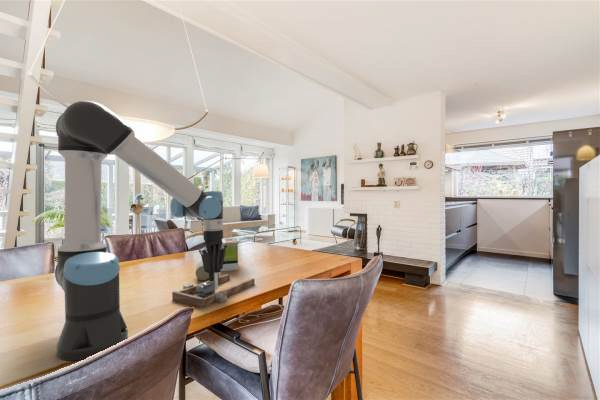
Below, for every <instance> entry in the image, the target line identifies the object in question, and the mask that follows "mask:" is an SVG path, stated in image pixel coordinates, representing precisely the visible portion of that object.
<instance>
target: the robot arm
mask: <svg viewBox="0 0 600 400" xmlns="http://www.w3.org/2000/svg"><path fill="white" fill-rule="evenodd" d="M55 132H56V135H57V137H58V140H57V142H58V143H57V146H58V148H57V150H58V151H57V153H58V154H59V155H60V156H61V157H63V158H64V242H63V243H62V244H61V245H60V246H59V247H57V262H56V266H55V269H54V277H55V281H56V283H57V284H58V286H60V287H61V289H62V290H63V292H64V313H65V318H64V319H65V322H64V324H63V326H62V330H61V333H60V336H59V338H58V341H57V345H56V355H57V357H58V358H59V359H61V360H63V361H83V360H86V359H85V358H87V357H89V356H92V355H94V354H96V353H98V352H100V351H103V350H105V349H107V348H109V347H111V346H113V345H116V344H117V343H119V342H121V341H123V340H125V339H127V340H128V338H129V332H128V331H129V330H128V326H127V324H126V321H125V319H124V317H123V315H122V312H121V309H120V307H121V306H120V302H121V301H120V298H121V297H120V296H121V295H120V294H121V293H120V269H121V267H120V262H119V258H118V256H117V255H116V254H114V253H111V252H108V251H107V250H108V249H107V247H108V245H107V244H106V243H105V242H103V241H102V239H101V238H102V228H101V227H102V219H101V218H102V161H103V160H105V159H106V158H107V157H108V155H109V156H110V155H112V156H113V155H114V156H116V157H118V158H119V159H120V160H122V161H123V162H124V163H126V164H127V165H129V166H130V167H131V168H133V169H134V170H135V171H136V172H138V173H139V174H140V175H142V176H143V177H144V178H146V179H148V180H149V181H150V182H151V183H153V184H154V185H155V186H157V187H158V188H159V189H161V190H162V191H164V192H165V193H166V194H168V195H169V196H170V197H171V198H172V199H171V201H170V205H169V206H170V211H171V212H170V213H171V214H172V216H173V217H175V218H184V217H190V218H198V219H203V221H202V224H203V225H202V227H203V228H202V229H203V233H202V234H203V237H202V238H203V240H204V244H203V248H199V250H198V253H199V255H200V257H201V261H202V262H203V266H204V271H205V272H207V273H209V279H208V281H210V283H214V284H215V291H216V290H218V289H219V284H218V279H219V277H220V275H219V274H220V272H222V271H221V270H220V269H222V268H223V263H224V256H225V250H226V248H227V245H224V244H223V242H222V239H223V238H224V230H223V228H224V217H223V216H224V198H223V197H224V196H223V192H222V191H221V190H204V191H203V190H202V189H200V187H198V186H197V185H196V184H194V183H193V182H192V181H191V180H190V179H189V178H187V177H186V176H185V175H184V174H183V173H181V172H180V171H179V170H178V169H177V168H175V167H174V166H173V165H172V164H170V163H169V162H168V161H166V159H165V158H163V157H162V156H161V155H159V154H158V153H157V152H156V151H154V150H153V149H152V148H151V147H149V145H147V144H146V143H145V142H144V141H142V140H141V139H140V138H139V137H138V136H136V134H135V129H134V128H133V127H132V126H130V125H129V124H128V123H127V122H126V121H124V120H123V119H122V118H120V117H119V116H118V115H117V114H116V113H114V112H113V111H112V110H110V109H109V108H107V107H106V106H104V105H103V104H101V103H98V102H96V101H89V100H80V101H75V102H73V103H71V104H70V105H69V106H67V107H66V108H65V110H64V111H63V113H61V115H59V117H58V118H57V120H56V123H55Z"/></svg>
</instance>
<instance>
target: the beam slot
mask: <svg viewBox="0 0 600 400" xmlns="http://www.w3.org/2000/svg"><path fill="white" fill-rule="evenodd" d="M230 279H231V274H230V273H226V274H224V275H220V276H219V279H218V285H219V284H223V283H224V282H228V281H230ZM202 283H210V281H209V280H205V281H204V282H203V281H202V282H201V283H199V284H202ZM199 284H195V285H194V284H192V283H187V284H185V285H182V289H180V290H178V291H177V290H175V291H172V293H171V294H172V295H171V296H172V301H176V302H179V303H183V304H186V305H189V306H193V305H194V306H193V307H196V306H197V307H196V308H200V307H201V308H202V307H203V308H205V307H207V306H209V305H211V303H212V304H214V303H216V302H217V303H223V302H225V301H227V299H228V298H227V297H230V296H231V295H234V294H236V293H239V292H240V291H243V290H246V289H247V288H250V287H252V286H255V278H250V279H247V280H245V281H242V282H240V283H238V284H237V283H236V284H235V285H232V286H230V287H227V288H226V289H223V290H220V291H218V292H215V294H213V295H210V296H208V297H206V298H201V297H197V296H196V295H194V294H196V286H197V285H199ZM203 308H202V309H203Z"/></svg>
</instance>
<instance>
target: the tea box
mask: <svg viewBox="0 0 600 400" xmlns="http://www.w3.org/2000/svg"><path fill="white" fill-rule="evenodd" d="M222 242H223V244H224V245H227V248H226V250H225V256H224V263H223V268H222V269H220V270H221V272H230V271H238V270H239V254H238V253H239V251H238V250H239V249H238V246H239V245H238V244H239V243H238V241H237V239H236V238H235V237H225V238H224V237H223V239H222Z"/></svg>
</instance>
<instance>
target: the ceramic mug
mask: <svg viewBox="0 0 600 400" xmlns="http://www.w3.org/2000/svg"><path fill="white" fill-rule="evenodd" d="M195 276H196V279H198V280H199V281H201V282H203V281H204V282H206V281H209V273H207V272H205V271H204V266H203V262H202V260H201V261H199V262H198V263H197V264H196V267H195ZM219 276H221V273H219Z"/></svg>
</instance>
